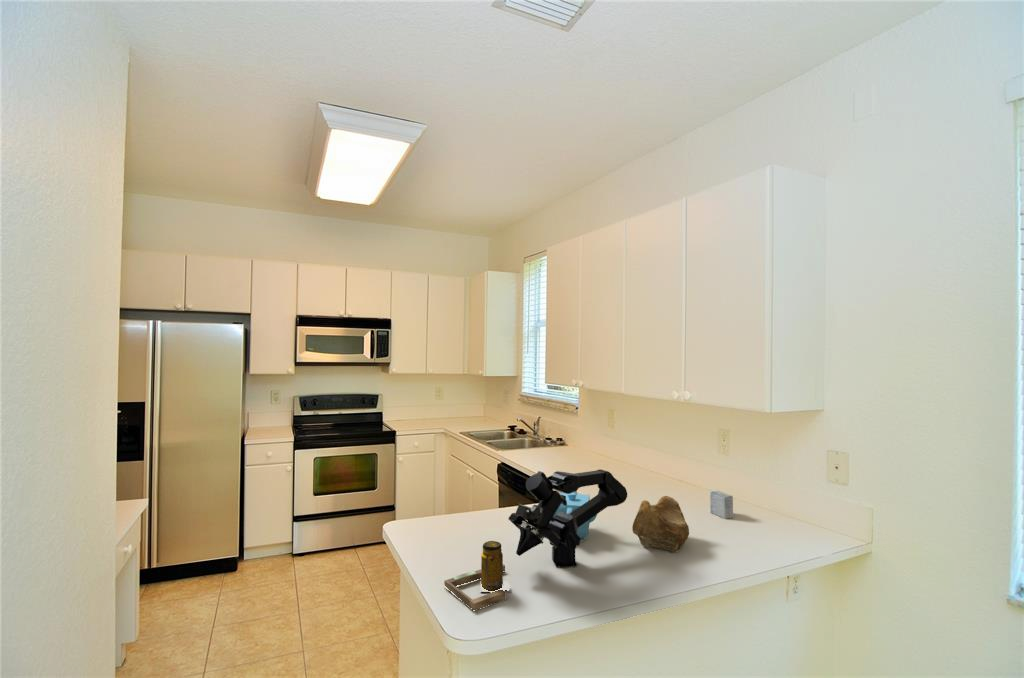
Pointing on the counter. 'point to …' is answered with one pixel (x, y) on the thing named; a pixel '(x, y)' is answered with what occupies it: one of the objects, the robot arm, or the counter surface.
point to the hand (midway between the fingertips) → (517, 554)
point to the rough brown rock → (661, 525)
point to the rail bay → (472, 603)
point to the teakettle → (572, 504)
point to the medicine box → (721, 504)
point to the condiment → (492, 566)
